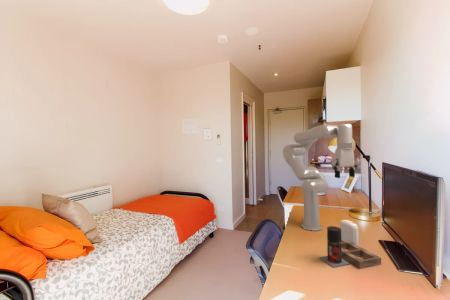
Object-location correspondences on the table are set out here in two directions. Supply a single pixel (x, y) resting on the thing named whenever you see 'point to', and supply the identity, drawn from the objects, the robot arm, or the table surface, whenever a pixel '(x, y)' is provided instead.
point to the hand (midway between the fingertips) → (344, 177)
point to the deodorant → (334, 244)
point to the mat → (343, 263)
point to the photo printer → (349, 232)
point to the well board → (357, 252)
